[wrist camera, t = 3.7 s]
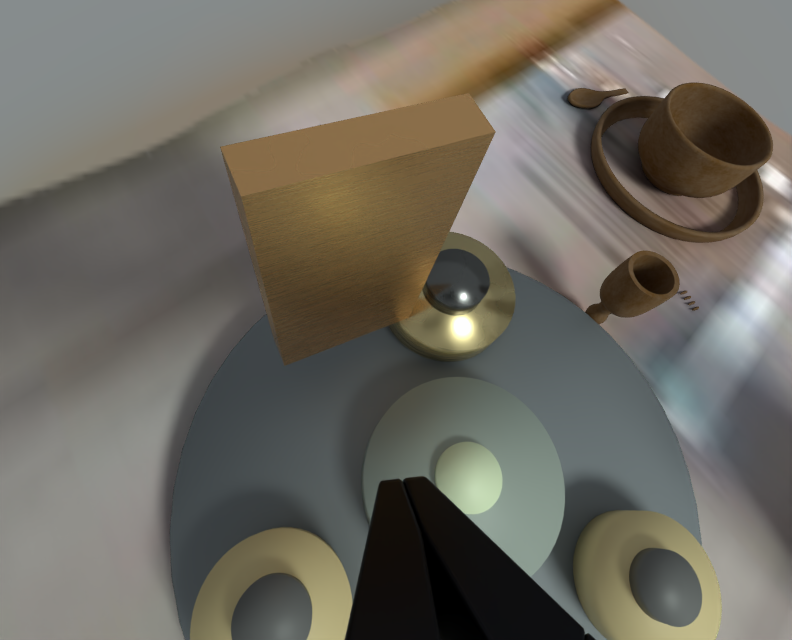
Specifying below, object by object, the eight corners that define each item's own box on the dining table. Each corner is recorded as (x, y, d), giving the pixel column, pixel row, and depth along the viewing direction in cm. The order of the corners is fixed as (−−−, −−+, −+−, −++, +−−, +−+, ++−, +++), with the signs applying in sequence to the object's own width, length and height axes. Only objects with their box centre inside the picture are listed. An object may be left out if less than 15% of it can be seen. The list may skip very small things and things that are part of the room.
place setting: (803, 259, 29) (912, 203, 24) (579, 366, 23) (658, 324, 18) (649, 81, 34) (710, 2, 29) (433, 129, 28) (460, 41, 23)
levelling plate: (495, 1038, 13) (551, 1208, 10) (55, 494, 16) (-6, 492, 13) (749, 470, 21) (821, 464, 18) (425, 197, 25) (440, 153, 22)
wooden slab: (465, 235, 22) (591, -2, 12) (524, 334, 21) (734, 156, 10) (258, 305, 19) (183, 59, 9) (308, 430, 17) (289, 311, 7)
